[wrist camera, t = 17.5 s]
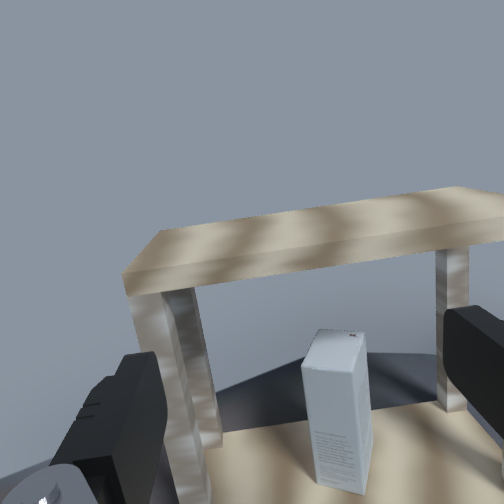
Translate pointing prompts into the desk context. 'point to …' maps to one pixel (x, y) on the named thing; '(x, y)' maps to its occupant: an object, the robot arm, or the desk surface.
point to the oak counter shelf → (297, 433)
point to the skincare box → (339, 409)
